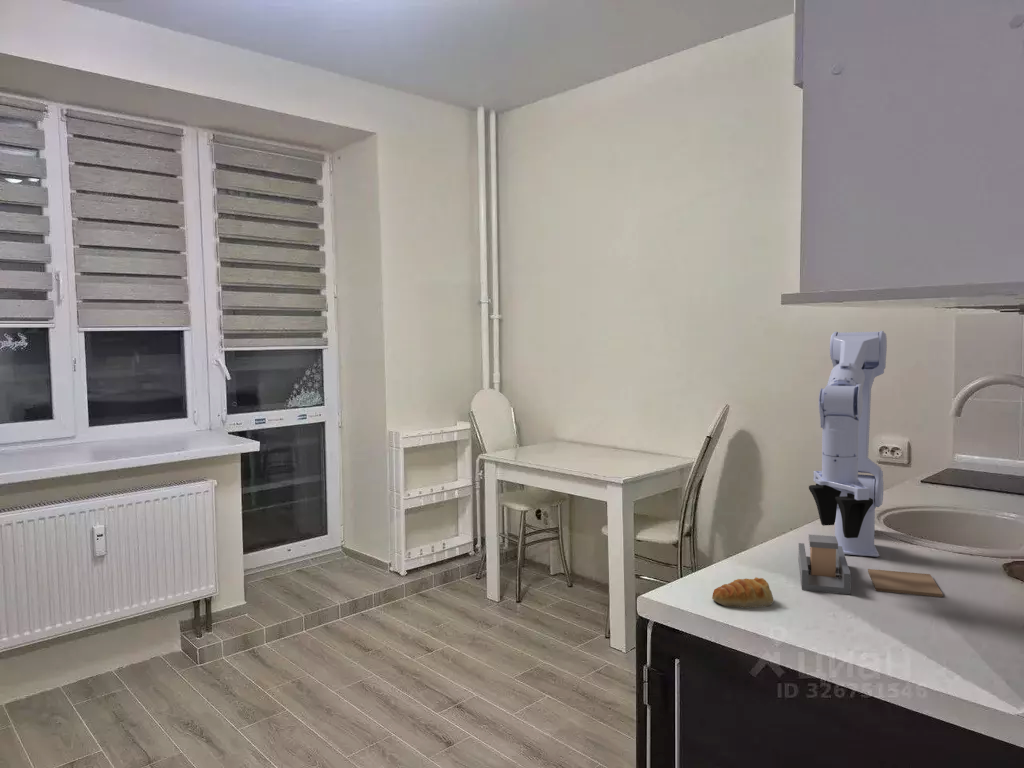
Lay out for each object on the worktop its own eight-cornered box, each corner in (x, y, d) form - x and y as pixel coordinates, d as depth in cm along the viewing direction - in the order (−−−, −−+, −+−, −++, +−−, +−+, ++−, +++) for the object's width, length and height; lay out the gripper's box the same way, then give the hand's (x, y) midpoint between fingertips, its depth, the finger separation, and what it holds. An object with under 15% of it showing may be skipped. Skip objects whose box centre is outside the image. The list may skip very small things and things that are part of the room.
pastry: (723, 612, 114) (723, 589, 113) (704, 597, 120) (704, 575, 120) (777, 607, 115) (777, 584, 115) (756, 592, 122) (755, 571, 122)
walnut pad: (868, 571, 130) (868, 568, 130) (930, 576, 127) (930, 574, 127) (875, 590, 121) (875, 587, 121) (942, 597, 117) (942, 594, 117)
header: (798, 560, 137) (798, 543, 137) (841, 564, 134) (841, 546, 134) (801, 589, 122) (802, 569, 122) (850, 594, 120) (850, 574, 119)
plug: (808, 571, 131) (808, 534, 131) (835, 573, 130) (835, 536, 129) (809, 579, 127) (809, 541, 126) (837, 582, 125) (838, 543, 125)
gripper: (797, 448, 130) (797, 520, 131) (840, 463, 115) (839, 544, 116) (834, 446, 130) (833, 518, 131) (881, 461, 116) (880, 542, 117)
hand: (839, 530), depth 124 cm, fingers open, 7 cm apart
